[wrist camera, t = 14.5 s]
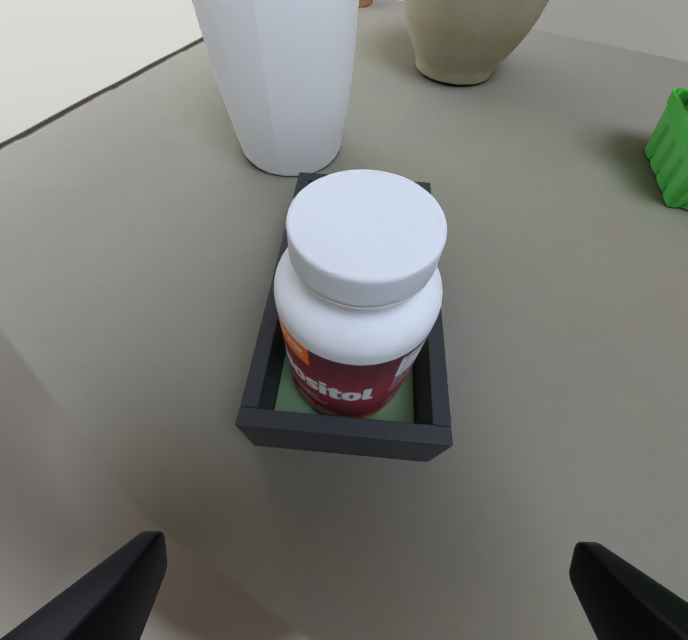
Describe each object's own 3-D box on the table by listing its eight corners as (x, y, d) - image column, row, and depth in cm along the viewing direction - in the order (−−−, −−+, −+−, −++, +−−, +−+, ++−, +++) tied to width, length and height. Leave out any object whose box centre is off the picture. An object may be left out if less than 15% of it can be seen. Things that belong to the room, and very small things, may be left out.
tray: (428, 462, 17) (453, 446, 14) (253, 445, 17) (234, 425, 14) (417, 227, 26) (430, 182, 23) (303, 218, 26) (299, 171, 23)
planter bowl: (544, 78, 41) (605, -51, 32) (457, 115, 36) (501, -27, 27) (449, 34, 48) (477, -84, 39) (362, 60, 42) (372, -70, 33)
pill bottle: (269, 383, 18) (206, 234, 9) (332, 306, 21) (334, 132, 12) (367, 448, 17) (414, 349, 7) (420, 355, 20) (503, 198, 10)
